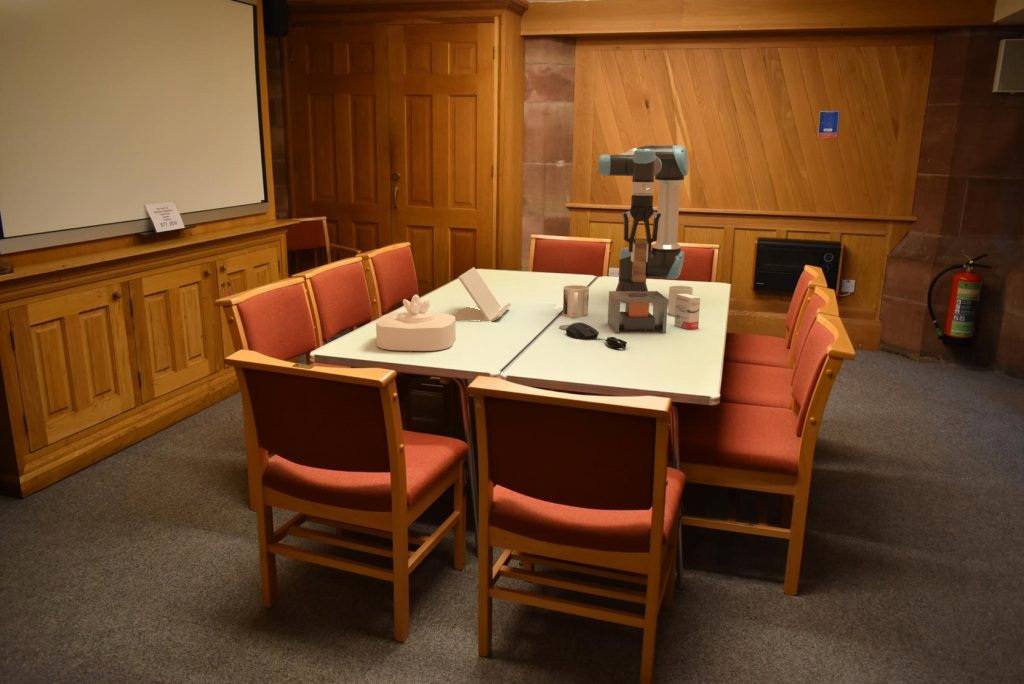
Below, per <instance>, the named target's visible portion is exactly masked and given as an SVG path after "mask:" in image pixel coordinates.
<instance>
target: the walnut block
mask: <svg viewBox="0 0 1024 684" xmlns="http://www.w3.org/2000/svg"><path fill="white" fill-rule="evenodd" d="M633 243H635V259H634V262H632V281H633V282H645V272H646V253H647V239H646V238H634V241H633Z"/></svg>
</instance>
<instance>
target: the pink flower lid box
mask: <svg viewBox="0 0 1024 684" xmlns="http://www.w3.org/2000/svg"><path fill="white" fill-rule="evenodd" d="M410 300H411V301H409V300H408V299H406V298H404V299H402V304H403V307H404V309H405V310H406V311H398V312H392V313H388V314H384V315H382V316H381V317H380V319H379V320H377V321H376V322H375V327H376V329H375V330H376V331H375V333H376V346H377V347H378V348H379V349H383V350H389V351H402V352H403V351H405V352H406V351H407V352H408V351H409V352H413V351H415V352H430V351H431V352H432V351H441V350H445V349H449V348H451V347H453V345H454V342H455V341H456V336H457V335H456V320H455V317H456V315H453V314H449V313H443V312H433V311H428V310H429V308H430V306H431V303H430V300H427V299H426V300H425V299H424V300H423V301H422V302H421V298H420V296H419V295H418V294H414V295H413V296H412V298H411V299H410Z"/></svg>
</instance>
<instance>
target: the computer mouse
mask: <svg viewBox="0 0 1024 684" xmlns="http://www.w3.org/2000/svg"><path fill="white" fill-rule="evenodd" d="M569 325H570V326H568V327H567V328H566V330H565V332H566V335H567V337H569V338H572V339H575V340H582V341H584V340H585V341H587V340H594V341H605V342H606V344H607V346H609V347H611V348H613V349H625V348H626V347H627V344H628V342H627V341H626V340H623V339H620V338H617V337H615V336H608V337H606V339H604V338H598V336H599V335H600V332H599V331H598V330H597V329H596V328H595V327H593V326H591V325H590V324H587V323H584V322H580V321H579V322H574V323H573V322H572V323H571V324H569Z"/></svg>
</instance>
